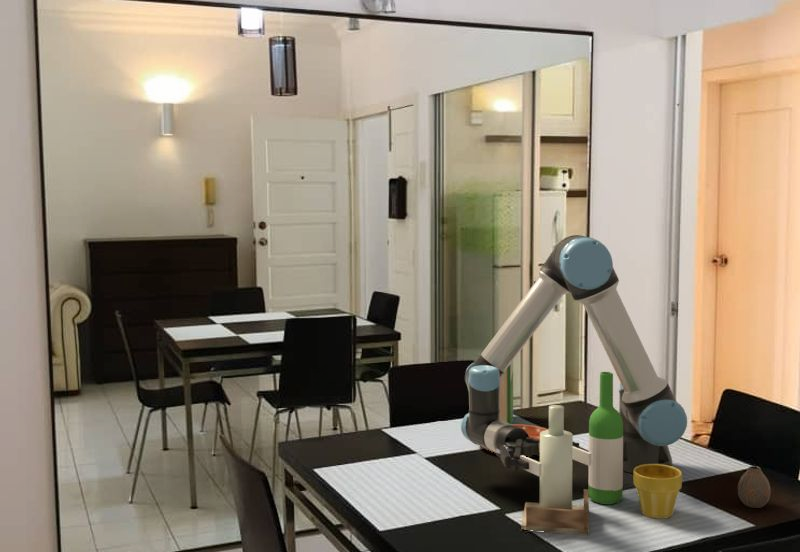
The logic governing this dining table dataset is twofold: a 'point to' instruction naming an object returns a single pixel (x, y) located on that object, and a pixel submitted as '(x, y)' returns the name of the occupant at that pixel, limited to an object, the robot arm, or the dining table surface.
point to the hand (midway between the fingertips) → (565, 464)
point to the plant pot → (657, 488)
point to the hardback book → (506, 395)
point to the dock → (557, 518)
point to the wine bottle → (606, 447)
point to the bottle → (556, 462)
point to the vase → (754, 488)
